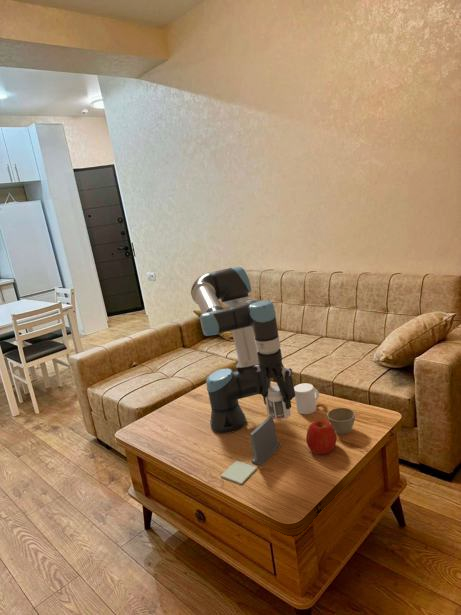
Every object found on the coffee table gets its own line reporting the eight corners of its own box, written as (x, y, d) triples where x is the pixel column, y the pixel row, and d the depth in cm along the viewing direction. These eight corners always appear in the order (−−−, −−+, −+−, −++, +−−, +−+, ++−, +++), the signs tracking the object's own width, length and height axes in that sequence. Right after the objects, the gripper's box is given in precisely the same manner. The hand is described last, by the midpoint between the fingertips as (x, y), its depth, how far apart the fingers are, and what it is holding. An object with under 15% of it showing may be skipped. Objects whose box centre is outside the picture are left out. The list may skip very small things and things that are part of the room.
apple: (339, 457, 143) (336, 429, 140) (308, 458, 145) (304, 432, 142) (336, 438, 153) (333, 413, 150) (307, 440, 155) (303, 415, 153)
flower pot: (358, 437, 151) (356, 420, 150) (330, 439, 154) (327, 422, 152) (355, 423, 161) (353, 406, 159) (329, 424, 163) (327, 408, 161)
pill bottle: (290, 411, 138) (286, 384, 136) (285, 420, 133) (281, 393, 131) (273, 410, 141) (269, 384, 138) (268, 419, 136) (264, 392, 133)
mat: (221, 476, 144) (220, 475, 144) (236, 462, 150) (236, 460, 150) (241, 484, 138) (241, 483, 138) (257, 468, 145) (256, 467, 144)
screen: (252, 462, 148) (246, 433, 145) (271, 443, 158) (267, 414, 155) (261, 465, 146) (255, 435, 143) (280, 445, 155) (276, 417, 152)
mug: (289, 389, 175) (308, 378, 182) (293, 410, 178) (311, 399, 185) (304, 394, 169) (323, 382, 176) (307, 416, 171) (326, 404, 178)
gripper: (238, 351, 134) (249, 415, 140) (288, 357, 122) (299, 426, 128) (251, 343, 139) (261, 404, 145) (300, 347, 128) (310, 414, 134)
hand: (279, 414), depth 137 cm, fingers closed on pill bottle, 6 cm apart
